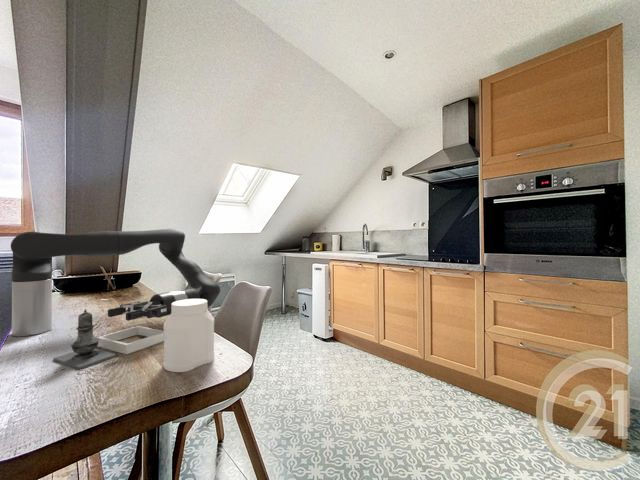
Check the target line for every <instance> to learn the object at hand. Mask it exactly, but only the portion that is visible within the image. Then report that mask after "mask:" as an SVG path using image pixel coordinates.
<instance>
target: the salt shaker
mask: <svg viewBox="0 0 640 480" xmlns="http://www.w3.org/2000/svg"><path fill="white" fill-rule="evenodd" d="M77 321H78V323H77V325H78V326H77V327H76V330H77V339H75V340H74V341H73V342H71V343H70V344H69V347H71V350H72V352H75V353H78V354H76V355H75V356H73V357H72V360H84V359H88V358H92V357H94V356H96V355H98V354H99V353H98V352H97V351H93V350H94V349H95V348H96V349H97V347H98V342H99V341H100V339H99V338H96V337H94V334H93V333H94V328H95V325H94V324H93V314H92V313H91V312H87V309H86V308H85V309H84V310H83V312H82V313H80V314H79V315H78V317H77Z"/></svg>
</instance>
